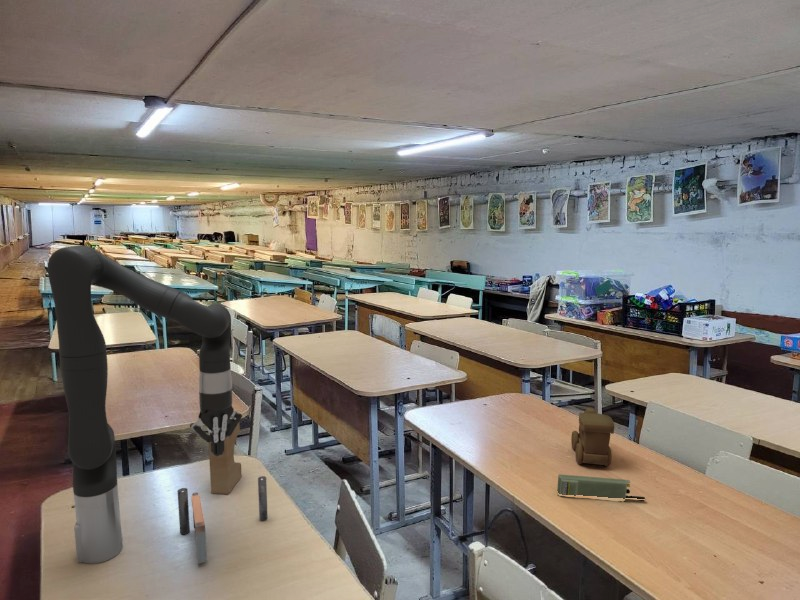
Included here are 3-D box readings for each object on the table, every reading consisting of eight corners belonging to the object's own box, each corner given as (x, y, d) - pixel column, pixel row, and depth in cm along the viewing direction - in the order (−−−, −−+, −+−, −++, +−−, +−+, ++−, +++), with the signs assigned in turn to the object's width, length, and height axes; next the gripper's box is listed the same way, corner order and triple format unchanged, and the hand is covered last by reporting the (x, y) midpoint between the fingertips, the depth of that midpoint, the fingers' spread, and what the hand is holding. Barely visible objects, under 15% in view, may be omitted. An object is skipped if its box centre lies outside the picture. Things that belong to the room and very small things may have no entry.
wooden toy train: (613, 473, 172) (617, 425, 169) (577, 470, 174) (580, 422, 171) (601, 447, 191) (605, 403, 189) (569, 444, 193) (572, 401, 191)
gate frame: (179, 536, 136) (177, 493, 134) (180, 530, 138) (177, 488, 136) (268, 520, 143) (266, 480, 141) (267, 515, 146) (265, 475, 144)
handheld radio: (556, 492, 160) (642, 499, 157) (558, 498, 157) (646, 506, 153) (558, 472, 159) (645, 479, 155) (559, 478, 156) (648, 485, 152)
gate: (192, 526, 138) (190, 493, 137) (200, 524, 139) (199, 491, 138) (197, 563, 124) (195, 527, 122) (206, 561, 125) (204, 525, 123)
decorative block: (225, 475, 167) (222, 416, 164) (242, 476, 167) (240, 417, 163) (209, 493, 156) (206, 430, 153) (228, 495, 156) (225, 431, 152)
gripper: (233, 378, 134) (234, 442, 137) (181, 389, 124) (184, 457, 127) (248, 385, 129) (249, 451, 132) (196, 397, 119) (198, 468, 122)
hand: (217, 454), depth 129 cm, fingers closed
